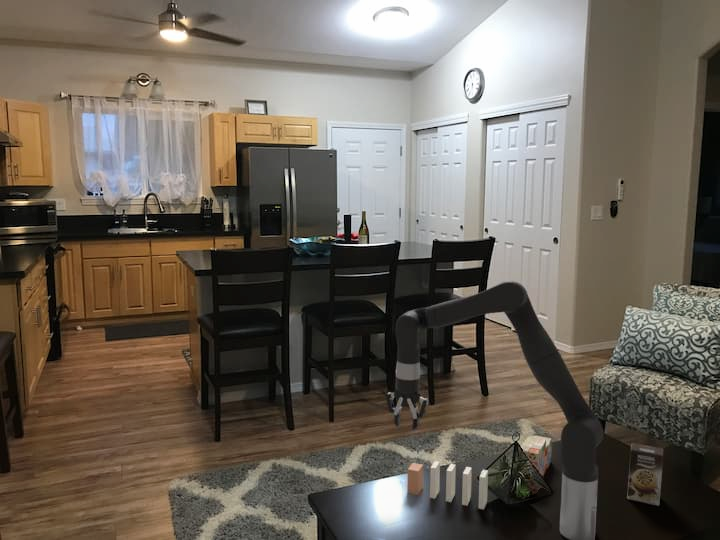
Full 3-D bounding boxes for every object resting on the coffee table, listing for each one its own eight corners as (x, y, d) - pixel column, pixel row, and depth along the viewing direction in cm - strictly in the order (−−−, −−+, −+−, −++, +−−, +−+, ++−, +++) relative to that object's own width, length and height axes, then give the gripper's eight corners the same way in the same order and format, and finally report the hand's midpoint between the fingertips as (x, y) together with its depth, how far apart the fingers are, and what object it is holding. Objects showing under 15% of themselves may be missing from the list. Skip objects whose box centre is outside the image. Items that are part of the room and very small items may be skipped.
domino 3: (454, 495, 182) (455, 464, 181) (450, 502, 178) (451, 471, 176) (449, 494, 183) (450, 463, 182) (445, 501, 178) (446, 470, 177)
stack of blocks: (533, 459, 207) (534, 426, 206) (551, 463, 204) (552, 430, 203) (517, 485, 189) (518, 448, 187) (536, 489, 186) (538, 453, 184)
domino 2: (439, 491, 184) (439, 461, 183) (435, 499, 179) (435, 468, 178) (434, 490, 185) (435, 460, 183) (430, 498, 180) (430, 467, 179)
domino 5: (487, 501, 178) (488, 470, 177) (483, 509, 174) (484, 477, 172) (481, 500, 179) (482, 469, 178) (478, 508, 174) (479, 476, 173)
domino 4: (470, 498, 180) (471, 467, 179) (467, 506, 176) (468, 474, 174) (465, 497, 181) (466, 466, 180) (461, 504, 176) (462, 473, 175)
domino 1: (422, 488, 186) (423, 464, 185) (417, 495, 182) (418, 471, 181) (412, 486, 188) (412, 462, 187) (407, 493, 183) (407, 469, 182)
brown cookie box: (626, 499, 180) (629, 449, 178) (628, 490, 186) (631, 441, 184) (659, 506, 176) (663, 455, 174) (660, 497, 181) (663, 447, 179)
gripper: (433, 375, 182) (431, 427, 184) (390, 368, 188) (389, 419, 190) (426, 382, 175) (424, 435, 178) (382, 375, 181) (380, 427, 183)
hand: (406, 427), depth 184 cm, fingers open, 5 cm apart
